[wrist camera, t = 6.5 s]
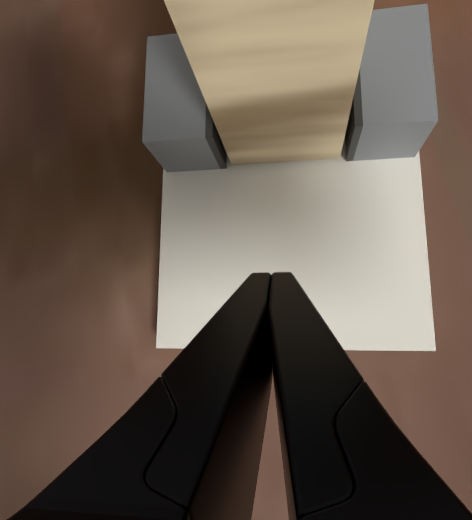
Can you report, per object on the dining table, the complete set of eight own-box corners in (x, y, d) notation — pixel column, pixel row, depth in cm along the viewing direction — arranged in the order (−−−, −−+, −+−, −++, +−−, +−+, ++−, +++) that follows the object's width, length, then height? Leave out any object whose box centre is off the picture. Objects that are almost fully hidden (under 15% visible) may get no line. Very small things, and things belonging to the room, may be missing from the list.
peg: (340, 158, 18) (395, -90, 8) (231, 165, 19) (141, -51, 8) (335, 59, 19) (379, -287, 8) (231, 70, 20) (151, -235, 9)
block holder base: (426, 349, 18) (467, 355, 13) (164, 347, 19) (126, 350, 15) (404, 73, 20) (432, 3, 16) (173, 95, 22) (143, 37, 18)
